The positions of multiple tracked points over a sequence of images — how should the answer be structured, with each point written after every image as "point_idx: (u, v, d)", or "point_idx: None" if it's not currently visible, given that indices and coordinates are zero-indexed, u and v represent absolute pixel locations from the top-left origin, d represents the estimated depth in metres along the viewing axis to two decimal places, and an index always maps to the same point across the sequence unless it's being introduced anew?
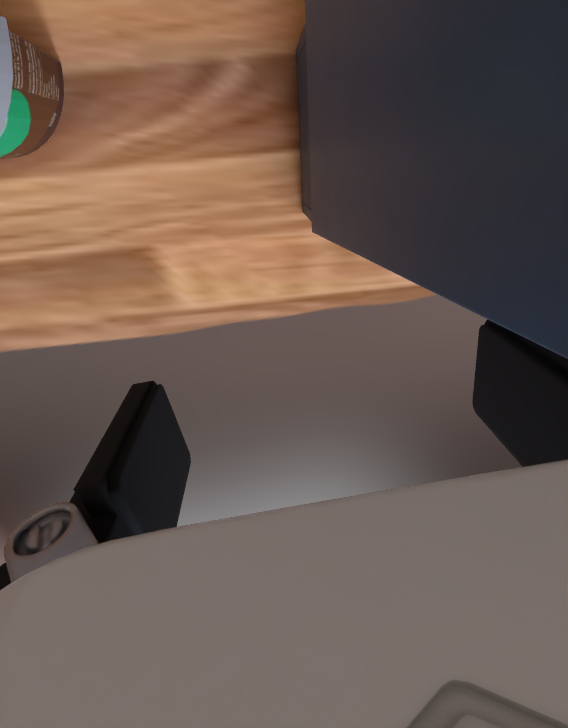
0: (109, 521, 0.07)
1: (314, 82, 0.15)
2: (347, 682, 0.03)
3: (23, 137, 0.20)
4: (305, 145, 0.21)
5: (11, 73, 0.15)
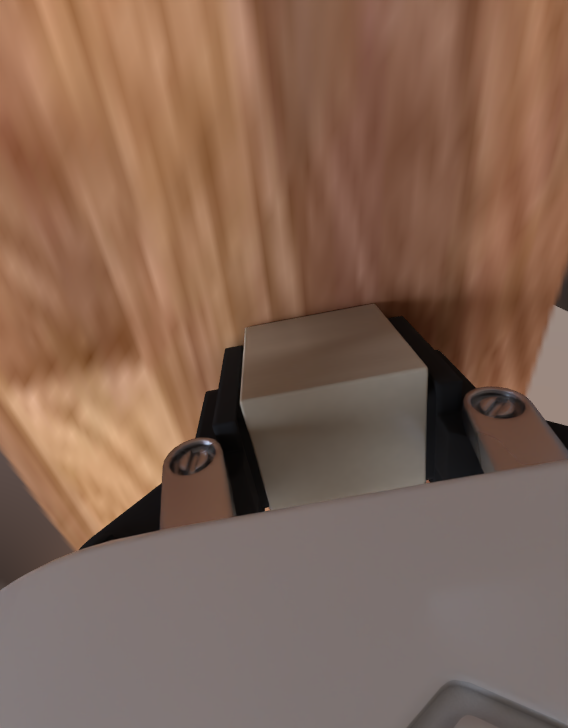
0: (238, 455, 0.08)
1: None
2: (347, 682, 0.03)
3: None
4: None
5: None
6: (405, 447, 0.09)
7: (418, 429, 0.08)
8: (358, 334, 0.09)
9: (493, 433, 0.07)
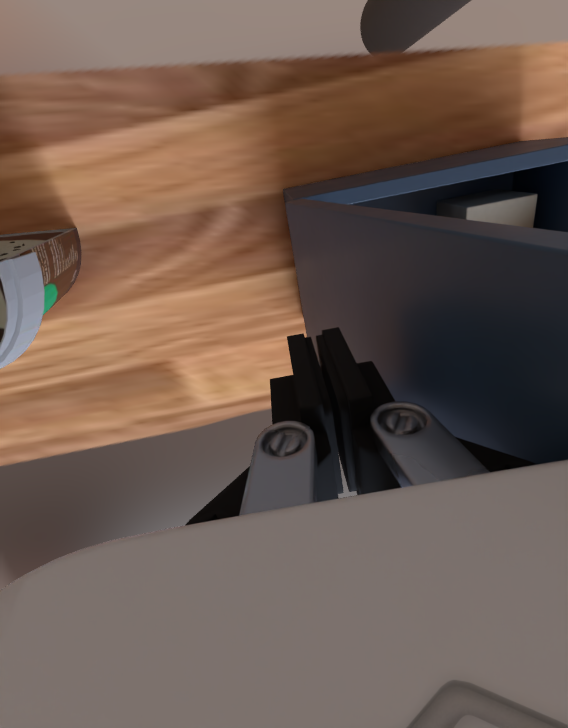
0: (323, 439, 0.08)
1: (301, 271, 0.17)
2: (347, 682, 0.03)
3: (52, 304, 0.23)
4: None
5: (43, 289, 0.18)
6: (502, 210, 0.21)
7: (494, 206, 0.21)
8: None
9: (406, 452, 0.07)
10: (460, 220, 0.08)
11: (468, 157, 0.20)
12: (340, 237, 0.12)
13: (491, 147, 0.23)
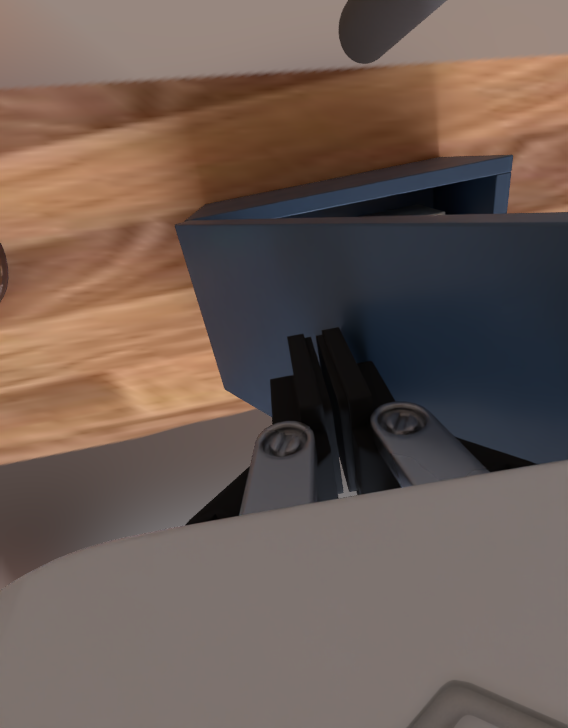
0: (322, 439, 0.08)
1: (203, 290, 0.17)
2: (347, 682, 0.03)
3: None
4: None
5: None
6: None
7: None
8: None
9: (406, 452, 0.07)
10: (379, 217, 0.09)
11: (373, 176, 0.20)
12: (255, 247, 0.13)
13: (409, 163, 0.23)
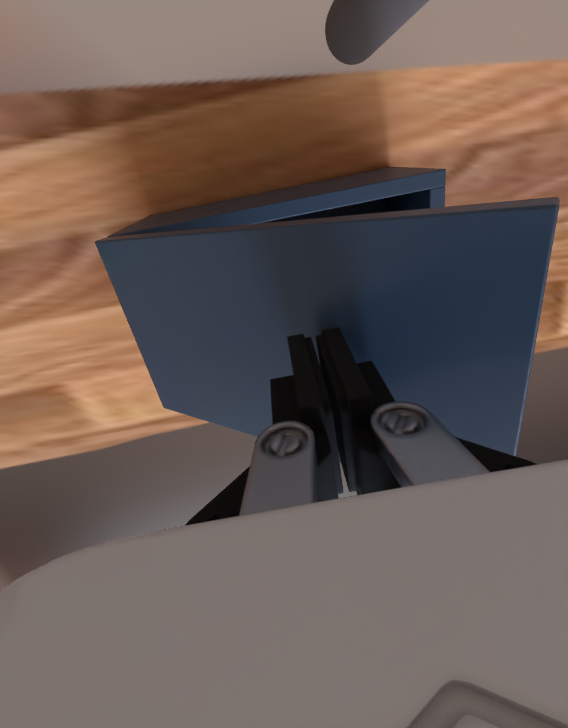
0: (323, 439, 0.08)
1: (133, 306, 0.17)
2: (347, 682, 0.03)
3: None
4: None
5: None
6: None
7: None
8: None
9: (406, 452, 0.07)
10: (316, 219, 0.11)
11: (312, 188, 0.19)
12: (194, 256, 0.13)
13: (358, 173, 0.23)
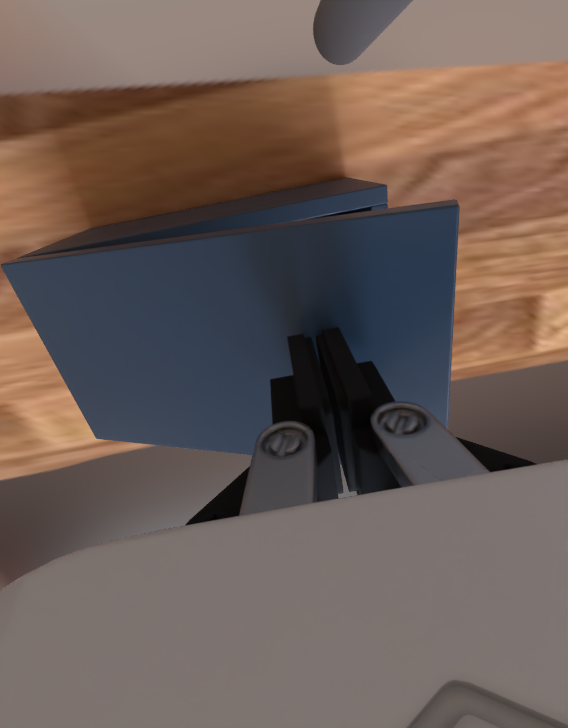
0: (323, 439, 0.08)
1: (53, 332, 0.15)
2: (347, 682, 0.03)
3: None
4: None
5: None
6: None
7: None
8: None
9: (406, 452, 0.07)
10: (251, 227, 0.11)
11: (252, 202, 0.18)
12: (125, 272, 0.13)
13: (311, 184, 0.21)
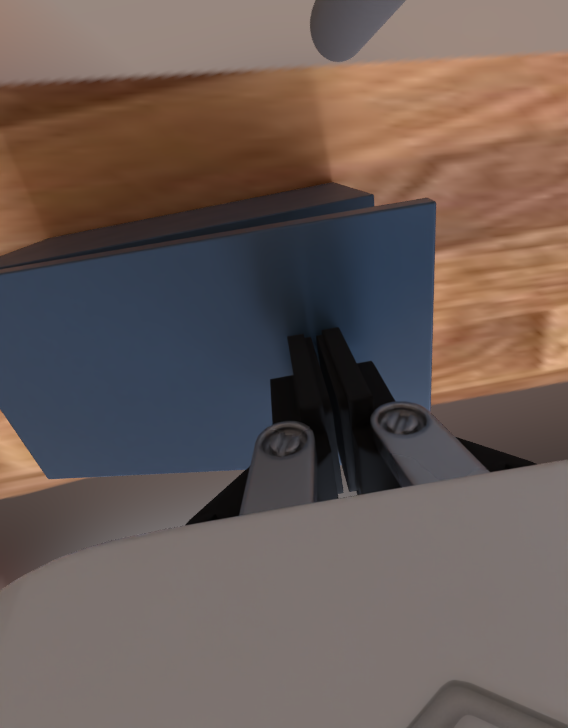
0: (323, 439, 0.08)
1: None
2: (347, 682, 0.03)
3: None
4: None
5: None
6: None
7: None
8: None
9: (406, 452, 0.07)
10: (227, 231, 0.11)
11: (222, 212, 0.16)
12: (85, 286, 0.11)
13: (294, 190, 0.19)
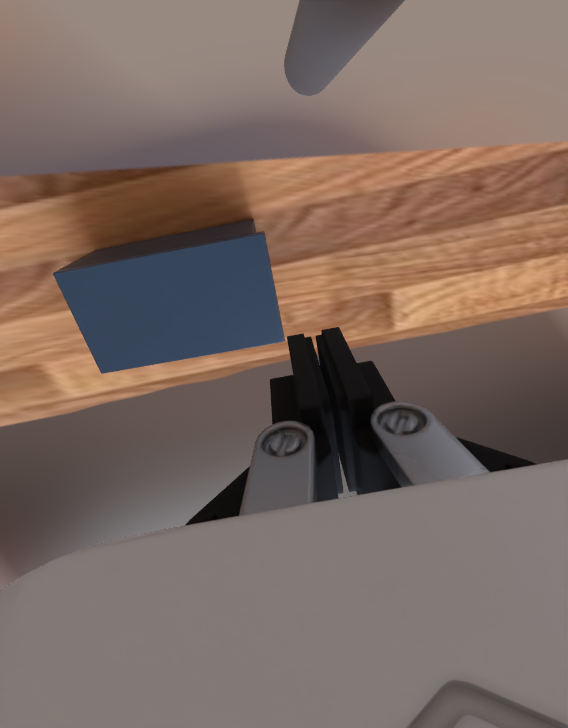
0: (323, 439, 0.08)
1: (82, 307, 0.29)
2: (347, 682, 0.03)
3: None
4: None
5: None
6: None
7: None
8: None
9: (406, 452, 0.07)
10: (190, 245, 0.28)
11: (189, 238, 0.31)
12: (131, 269, 0.28)
13: (231, 223, 0.35)
